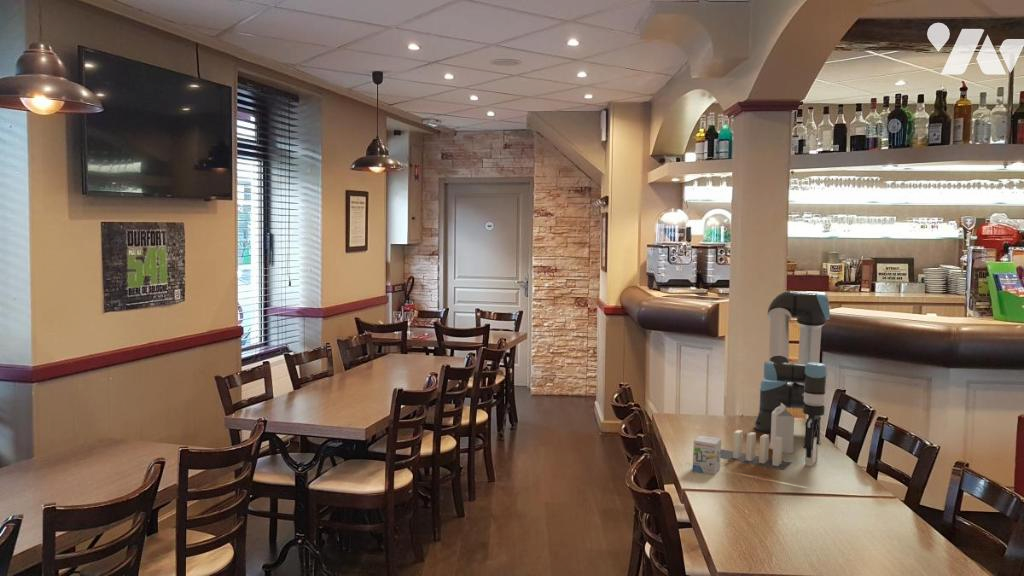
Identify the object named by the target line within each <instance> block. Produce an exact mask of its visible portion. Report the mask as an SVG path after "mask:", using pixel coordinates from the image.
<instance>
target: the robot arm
mask: <svg viewBox="0 0 1024 576" xmlns="http://www.w3.org/2000/svg"><path fill="white" fill-rule="evenodd" d="M830 313H831V311H830V302H829V295H828V294H827V293H826V292H823V291H822V292H821V291H816V290H815V291H807V290H806V291H805V290H803V291H802V290H798V291H797V290H786V291H783V292H781V293H780V294H778V295H777V296H775V297H774V299H772V301H771V302H770V304H769V305H768V308H767V320H768V321H769V346H768V348H769V349H768V353H769V354H768V358H769V359H768V361H765V362H764V365H763V379H762V380H761V381H760V384H759V385H760V387H759V391H760V392H759V405H758V406H759V407H758V409H759V410H758V413H757V416H756V418H755V421H754V429H756V430H757V431H759V432H764V433H768V434H771V419H772V412H773V411H774V410H775V408H777V407H779V406H780V405H781V403H782V404H783V405H785V406H786V410H787V411H788V408H789V409H797V410H799V409H801V410H802V413H803V414H805V415H808V416H807V418H806V422H805V423H804V424H805V432H804V445H803V449H805V457H804V466H807V467H808V466H809V467H813V466H814V464H813V453H814V449H813V443H814V437H817V440H816V462H818V458H819V445H821V419H822V418H821V417H822V416H824V415H825V408H826V407H825V403H826V384H827V382H826V381H827V380H826V379H827V365H826V364H825V363H822V362H820V358H821V357H820V355H821V354H820V353H821V341H822V340H821V339H822V327H823V326H825V325H826V323H827V321H828V320H830V318H831V314H830ZM792 319H796V323H797V324H798V325H799V337H798V338H799V340H798V341H799V342H798V359H797V363H796V362H795V363H794V362H790V328H789V327H790V321H791V320H792ZM816 462H815V463H816Z"/></svg>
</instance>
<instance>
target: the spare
mask: <svg viewBox="0 0 1024 576" xmlns="http://www.w3.org/2000/svg"><path fill="white" fill-rule="evenodd" d="M816 440H817V437H814V443H813V449H814V453H813V465H814V464H815V463H816Z"/></svg>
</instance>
